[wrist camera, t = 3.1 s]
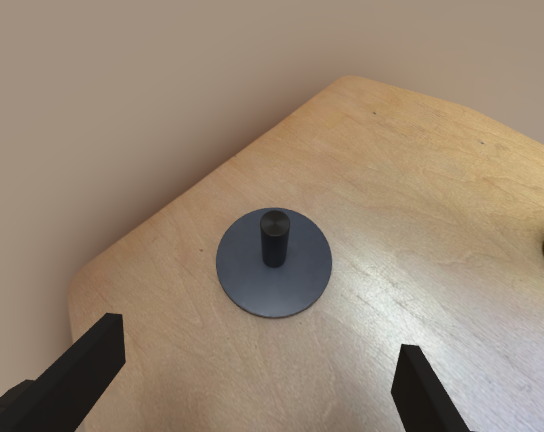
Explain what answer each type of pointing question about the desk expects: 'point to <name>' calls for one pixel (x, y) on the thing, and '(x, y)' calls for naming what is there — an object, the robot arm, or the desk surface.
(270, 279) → the lid
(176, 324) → the desk surface
